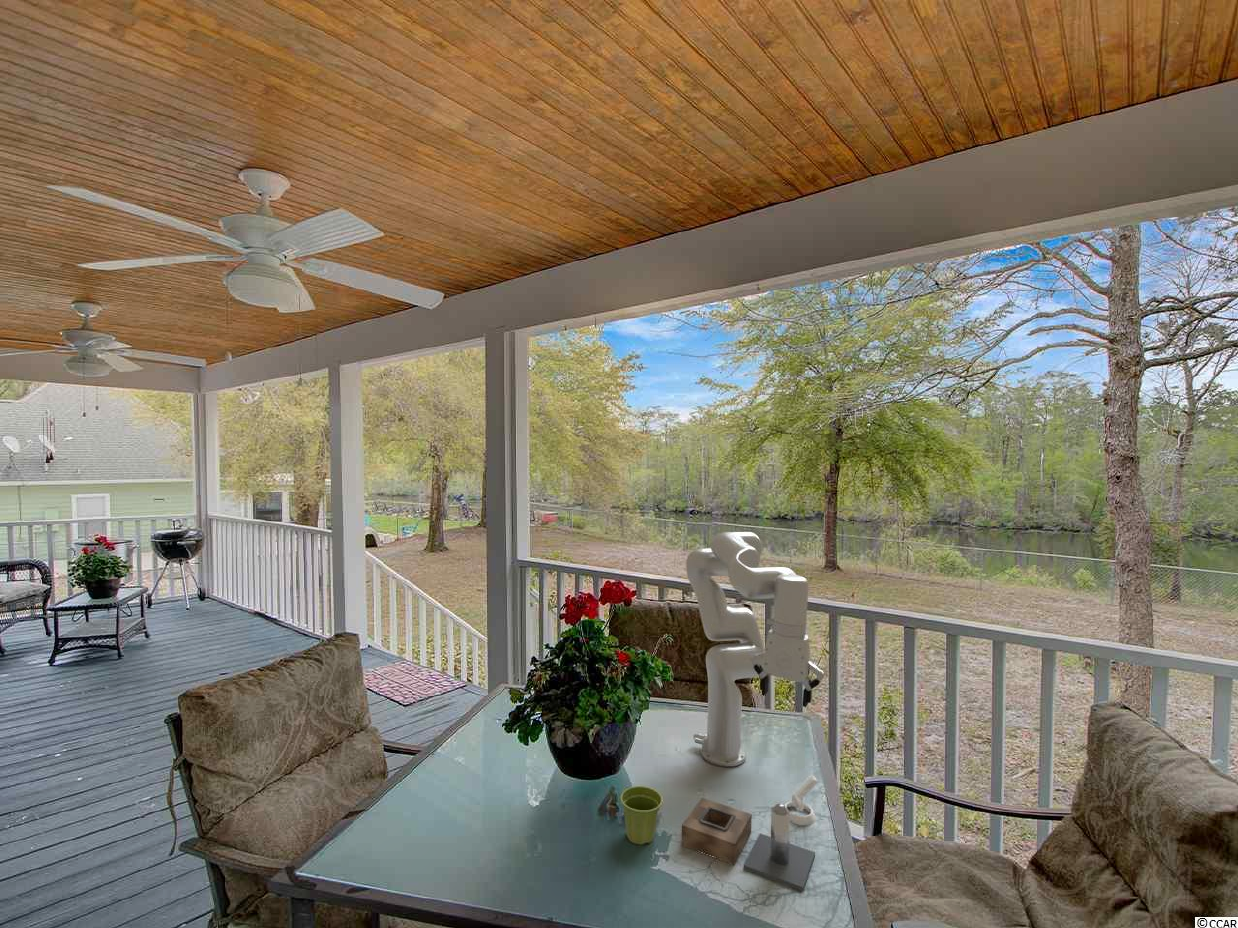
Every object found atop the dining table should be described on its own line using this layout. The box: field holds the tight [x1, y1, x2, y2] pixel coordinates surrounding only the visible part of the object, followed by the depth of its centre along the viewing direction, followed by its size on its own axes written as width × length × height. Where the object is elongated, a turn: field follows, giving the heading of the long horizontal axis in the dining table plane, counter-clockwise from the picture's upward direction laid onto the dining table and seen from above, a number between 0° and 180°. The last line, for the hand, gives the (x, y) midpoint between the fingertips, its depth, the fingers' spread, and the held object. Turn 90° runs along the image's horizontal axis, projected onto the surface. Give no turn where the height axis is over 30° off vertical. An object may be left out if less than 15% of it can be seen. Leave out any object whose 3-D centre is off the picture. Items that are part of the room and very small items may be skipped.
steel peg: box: [770, 803, 791, 864], centre depth 124 cm, size 4×4×11 cm
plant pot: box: [620, 785, 663, 846], centre depth 131 cm, size 9×9×9 cm
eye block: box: [680, 797, 753, 866], centre depth 131 cm, size 12×12×5 cm
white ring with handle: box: [784, 774, 818, 826], centre depth 140 cm, size 8×12×7 cm
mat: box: [743, 833, 816, 892], centre depth 124 cm, size 12×12×1 cm
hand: (784, 698), depth 139 cm, fingers open, 9 cm apart
